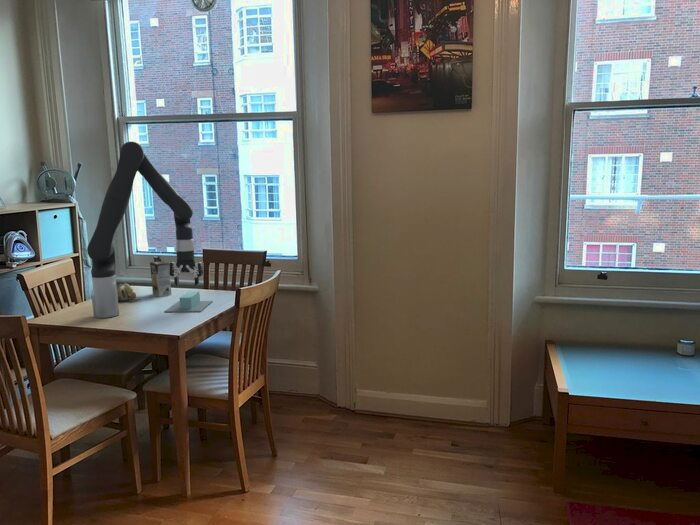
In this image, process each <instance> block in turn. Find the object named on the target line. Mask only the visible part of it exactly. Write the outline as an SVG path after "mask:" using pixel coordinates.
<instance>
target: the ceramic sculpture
mask: <svg viewBox="0 0 700 525" xmlns="http://www.w3.org/2000/svg"><path fill="white" fill-rule="evenodd" d="M117 295H118V301H122V302H124V301H125V302H126V301H129V300H135V299H136V298H137V293H136V292H134V289H133V288H132V287H131V286H130V285H129V283H126V282H121V283H120V284H119V285H118V286H117Z"/></svg>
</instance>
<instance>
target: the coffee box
mask: <svg viewBox="0 0 700 525" xmlns="http://www.w3.org/2000/svg"><path fill="white" fill-rule="evenodd" d="M149 266H150V276H151V287H152V295H155V296H157V297H159V298H161V297H168V295H169V296H171V295H172V286H171V276H170V262H166V261H164V260H158V261H151V262H149Z"/></svg>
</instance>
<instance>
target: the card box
mask: <svg viewBox="0 0 700 525" xmlns="http://www.w3.org/2000/svg"><path fill="white" fill-rule="evenodd" d="M200 296H201V295H200V291H196V290H194V291H189V290H188V291H187V292H186V293H184V294H183V295H181V296H180V297H179V301H180V309H192V308H193V307H194V306H196V305H197V304H198V303H199V302H200V301H201V297H200Z"/></svg>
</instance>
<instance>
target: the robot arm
mask: <svg viewBox="0 0 700 525" xmlns="http://www.w3.org/2000/svg"><path fill="white" fill-rule="evenodd" d="M137 173H139V174H140V175H141V176H142V177H143V179H144V180H145V181H146V183H147V184H148V186H150V188H151V189H152V190H153V191H154V193H155V194H156V195H157V196H158V197H159V199H160V200H161V201H162V202H163V203H164V204H165V205H167V206H168V208H170V209H171V211H172V212H173V219H174V224H175V239H176V241H175V251H176V252H175V254H176V262H175V261H171V262H169V267H170V277H173V280H174V285H175V286H179V285H180V278H179V276H180V273H190V274H192V275H193V276H194V286H195V287H198V285H199V283H200V277H202V276H203V275H204V271H203V270H204V269H203V263H202V261H200V262H195V246H194V244H195V243H194V235H193V233H194V232H193V227H192V225H191V218H192V216H193V214H194V212H193V209H192V207H191V205H190V204H189V203H188V202H187V201H186V200H185V199H184V198H182V197H181V195H180V194H179V193H178V192H177V190H176V189H175V188H174V187H173V186H172V185H171V183H170V182H169V181H168V180H167V179H166V178H165V177H164V176H163V175H162V174H161V173H160V172H159V171H158V170H157V169H156V167H155V166H154V165H153V163H152V162H151V161H150V159H149V158H148V157H147V154H146V153H145V150H144V148H143V147H142V145H141V144H140V143H137V142H136V141H126V142H124V143H123V144H122V145H121V147H120V150H119V158H118V162H117V166H116V171H115V173H114V175H113V178H112V179H111V181H110V183H109V186H108V187H107V190H106V192H105V196H104V199H103V201H102V205H101V208H100V212H99V216H98V219H97V224H96V228H95V230H94V232H93V234H92V237H91V239H90V240H89V242H88V245H87V249H86V252H87V255H88V257H89V258H90V259H91V263H92V264H91V271H90V273H91V274H90V275H91V281H92V291H93V294H91V303H92V312H93V313H92V314H93V318H98V319H108V318H113V317H117V316H119V315H120V308H119V300H118V295H117V288H118V286H117V276H116V266H117V264H116V253H115V252H116V251H115V246H114V243H113V240H114V236H115V233H116V231H117V229H118V227H119V225H120V224H121V222H122V220H123V218H124V216H125V213H126V211H127V208H128V206H129V203H130V199H131V196H132V191H133V187H134V186H133V185H134V181H135V178H136V174H137ZM175 267H177V270H176V271H175ZM195 267H196V268H197V270H196V269H195Z"/></svg>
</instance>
